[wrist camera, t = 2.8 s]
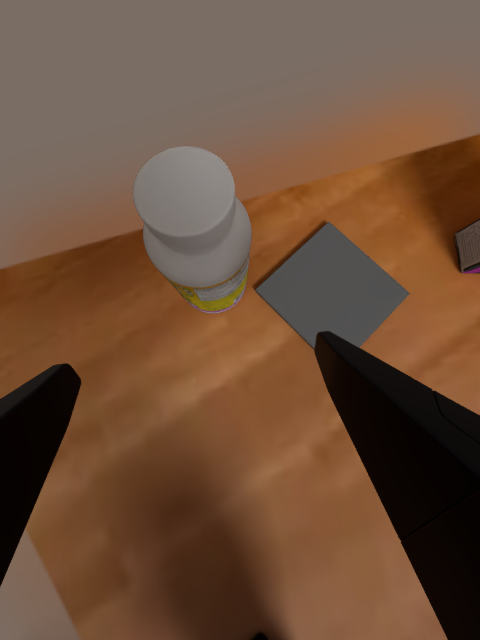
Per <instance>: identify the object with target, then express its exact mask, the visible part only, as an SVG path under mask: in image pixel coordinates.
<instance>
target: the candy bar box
mask: <svg viewBox="0 0 480 640" xmlns="http://www.w3.org/2000/svg"><path fill="white" fill-rule="evenodd" d="M455 244H456V248H457V252H458V257H459V265H460V269H461V273H480V219H478V220H477V221H475V222H473V223H472V224H470V225H468V226H466V227H465V228H463V229H461V230H460V231H458V232H456V233H455Z"/></svg>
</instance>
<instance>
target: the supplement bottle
mask: <svg viewBox="0 0 480 640" xmlns="http://www.w3.org/2000/svg"><path fill="white" fill-rule="evenodd" d="M133 200H134V204H135V207H136V210H137V212H138V214H139V216H140V217H141V218H142V220H143V222H144V228H143V238H144V244H145V248H146V251H147V254H148V256H149V258H150V259H151V261H152V263H153V264H154V265H155V266H156V268H157V269H158V270H159V271H160V272H161V273H162V274H163V276H164V277H165V278H166V279H167V280H168V281H169V282H170V283H171V284H172V286H173V287H174V288H175V289H176V290H177V291H178V292H179V293H180V294H181V295H182V297H183V298H184V299H185V300H186V301H187V302H188V303H189V304H190V305H192V306H193V307H194V308H196V309H198V310H200V311H203V312H206V313H220V312H223V311H226V310H228V309H230V308H232V307H233V306H234V305H236V304H237V303H238V301H239V300H240V299H241V297H242V296H243V294H244V291H245V288H246V282H247V274H248V264H249V255H250V247H251V238H252V231H251V224H250V219H249V216H248V214H247V212H246V210H245V208H244V206H243V204H242V203H241V202H240V201H239V200H238V198H237V197H236V196H235V185H234V180H233V177H232V174H231V172H230V170H229V168H228V167H227V165H226V164H225V163H224V162H223V161H222V160H221V159H220V158H219V157H218V156H216V155H215V154H213V153H211V152H209V151H207V150H205V149H202V148H198V147H192V146H180V147H173V148H170V149H167V150H164V151H162V152H160V153H158V154H157V155H155V156H153V157H152V158H150V159H149V160H148V161H147V162H146V163H145V164H144V165H143V166H142V168H141V169H140V171H139V172H138V174H137V176H136V179H135V182H134V186H133Z"/></svg>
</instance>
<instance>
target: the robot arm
mask: <svg viewBox="0 0 480 640" xmlns="http://www.w3.org/2000/svg"><path fill="white" fill-rule="evenodd" d="M314 351H315V356H316V358H317V361H318V364H319V367H320V370H321V373H322V376H323V378H324V381H325V384H326V387H327V389H328V392H329V394H330V396H331V398H332V401H333V403H334V405H335V407H336V409H337V411H338V413H339V415H340V417H341V419H342V421H343V423H344V425H345V427H346V430H347V432H348V434H349V436H350V438H351V440H352V442H353V444H354V446H355V448H356V450H357V452H358V454H359V456H360V458H361V461H362V463H363V465H364V467H365V469H366V471H367V473H368V475H369V477H370V479H371V481H372V483H373V485H374V487H375V489H376V492H377V494H378V496H379V498H380V500H381V502H382V504H383V506H384V508H385V510H386V512H387V514H388V516H389V518H390V520H391V523H392V525H393V527H394V529H395V531H396V533H397V535H398V537H399V539H400V540H401V544H402V546H403V548H404V550H405V552H406V554H407V556H408V558H409V560H410V562H411V564H412V566H413V568H414V571H415V573H416V575H417V577H418V579H419V581H420V583H421V585H422V587H423V589H424V591H425V593H426V595H427V597H428V599H429V602H430V604H431V606H432V608H433V610H434V612H435V614H436V616H437V618H438V620H439V622H440V624H441V626H442V628H443V631H444V633H445V635H446V637H447V639H448V640H480V415H478V414H476V413H474V412H472V411H471V410H469V409H467V408H465V407H463V406H461V405H460V404H458V403H456V402H454V401H452V400H450V399H449V398H447V397H445V396H443V395H442V394H440V393H438V392H436V391H432V389H431V388H429V387H427V386H426V385H424V384H422V383H420V382H419V381H417V380H415V379H413V378H412V377H410V376H408V375H406V374H404V373H403V372H401V371H399V370H397V369H396V368H394V367H392V366H390V365H389V364H387V363H385V362H383V361H382V360H380V359H378V358H376V357H375V356H373V355H371V354H369V353H367V352H366V351H364V350H362V349H360V348H359V347H357V346H355V345H353V344H352V343H350V342H348V341H346V340H345V339H343V338H341V337H339V336H338V335H336V334H334V333H332V332H330V331H322V332H318V333H317V335H316V342H315V348H314ZM80 386H81V379H80V377H79V376H78V374H77V373H76V372H75V370H74V369H73V368H72V366H71V365H69V364H66V363H65V364H57V365H53V366H52V367H50V368H48V369H47V370H45V371H44V372H42V373H41V374H39V375H37V376H36V377H34V378H33V379H31V380H30V381H28V382H26V383H25V384H23V385H22V386H20V387H19V388H17V389H15V390H14V391H12V392H11V393H9V394H8V395H6V396H4V397H3V398H1V399H0V586H1V584H2V581H3V579H4V577H5V574H6V572H7V570H8V567H9V565H10V563H11V560H12V558H13V555H14V553H15V551H16V548H17V546H18V544H19V541H20V539H21V537H22V534H23V532H24V529H25V527H26V525H27V522H28V520H29V518H30V515H31V513H32V511H33V508H34V506H35V503H36V501H37V499H38V496H39V494H40V492H41V489H42V487H43V484H44V482H45V480H46V477H47V475H48V473H49V470H50V468H51V466H52V463H53V461H54V458H55V456H56V454H57V451H58V449H59V447H60V444H61V442H62V439H63V437H64V435H65V432H66V430H67V427H68V425H69V422H70V419H71V415H72V412H73V409H74V406H75V402H76V399H77V396H78V393H79V389H80ZM253 640H268V639H267V637H266V636H265V635H264V634H261V633H260V634H257V635H256V636H255V638H254V639H253Z"/></svg>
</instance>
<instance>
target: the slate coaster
mask: <svg viewBox="0 0 480 640" xmlns="http://www.w3.org/2000/svg"><path fill="white" fill-rule="evenodd" d="M255 292H256V293H257V294H258V295H259V296H260V297H261V298H262V299H263V300H264V301H265V302H266V303H267V304H268V305H269V306H270V307H271V308H272V309H274V310H275V311H276V312H277V313H278V314H279V315H280V316H281V317H282V318H283V319H284V320H285V321H286V322H287V323H288V324H289V325H290V326H291V327H292V328H293V329H294V330H295V331H296V332H297V333H298V334H299V335H300V336H301V337H302V338H303V339H304V340H305V341H306V342H307V343H308V344H309V345H310V346H311V347H312V348H313V349H314V348H315V342H316V335H317V333H318V332H322V331H330V332H332V333H334V334H336V335H338V336H339V337H341V338H343V339H345V340H346V341H348V342H350V343H352V344H353V345H355V346H357V347H360V346H361V345H362V344H363V343H364V342H365V341H366V340H367V339H368V337H369V336H370V335H371V334H372V333H373V332H374V331H375V330H376V329H377V328H378V327H379V326H380V325H381V324H382V323H383V321H384V320H385V319H386V318H387V317H388V316H389V315H390V314H391V313H392V312H393V311H394V310H395V309H396V308H397V307H398V305H399V304H400V303H401V302H402V301H403V300H404V299H405V298H406V297H407V296H408V295H409V294H410V293H409V292H408V291H406V290H405V289H404V288H403V287H402V286H401V285H400V284H399V283H397V282H396V281H395V280H394V279H393V278H392V277H391V276H390V275H388V274H387V273H386V272H385V271H384V270H383V269H382V268H381V267H379V266H378V265H377V264H376V263H375V262H374V261H373V260H372V259H370V258H369V257H368V256H367V255H366V254H365V253H364V252H363V251H361V250H360V249H359V248H358V247H357V246H356V245H355V244H354V243H352V242H351V241H350V240H349V239H348V238H347V237H346V236H345V235H343V234H342V233H341V232H340V231H339V230H338V229H337V228H336V227H334V226H333V225H332V224H331V223H330V222H328V223H327V224H326V225H325V226H324V227H323V228H322V229H320V230H319V231H318V232H317V233H316V234H315V235H314V236H313V237H312V238H311V239H310V240H309V241H308V242H306V243H305V244H304V245H303V246H302V247H301V248H300V249H299V250H298V251H297V252H296V253H295V254H293V255H292V256H291V257H290V258H289V259H288V260H287V261H286V262H285V263H284V264H283V265H282V266H281V267H279V268H278V269H277V270H276V271H275V272H274V273H273V274H272V275H271V276H270V277H269V278H268V279H266V280H265V281H264V282H263V283H262V284H261V285H260V286H259V287H258V288H257V289H256V290H255Z"/></svg>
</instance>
